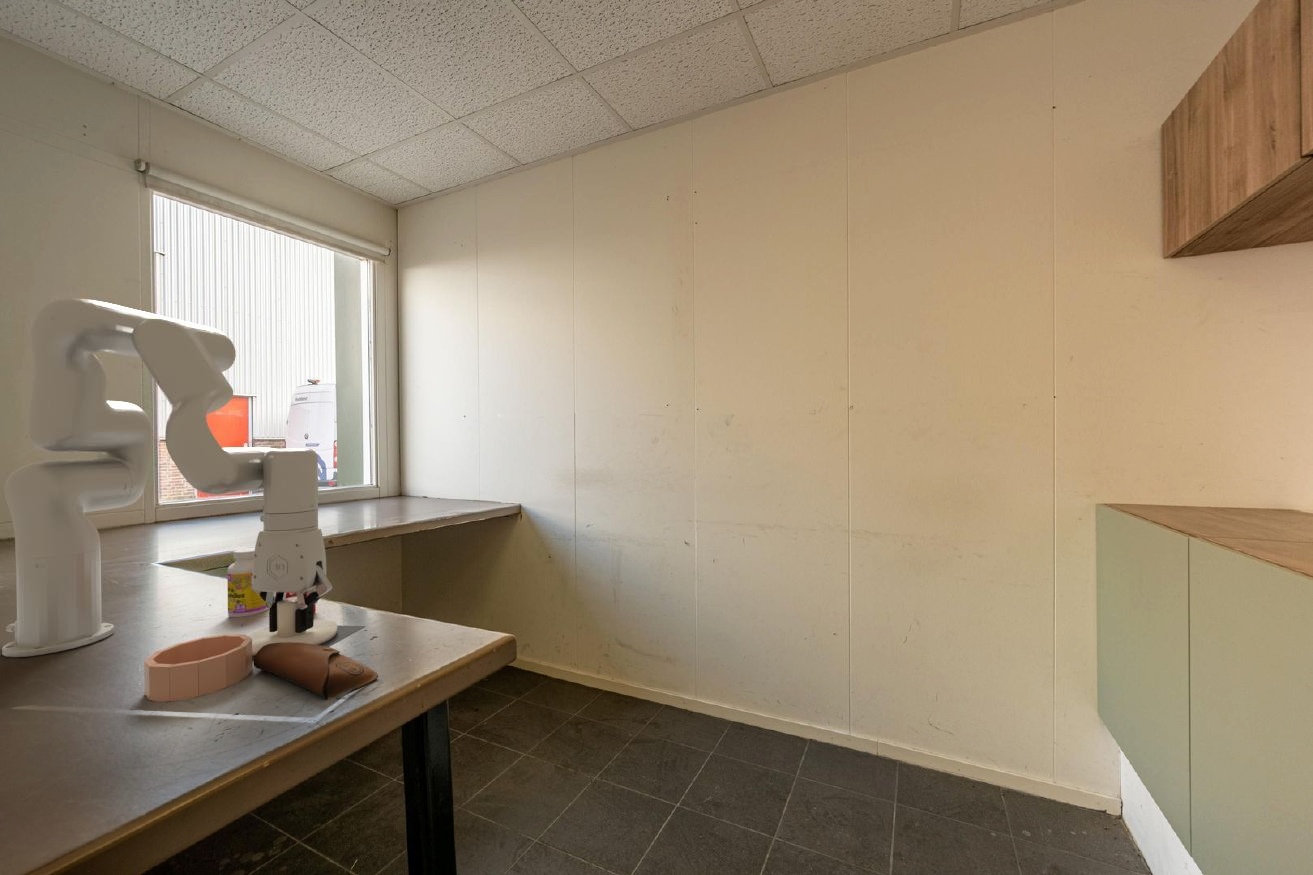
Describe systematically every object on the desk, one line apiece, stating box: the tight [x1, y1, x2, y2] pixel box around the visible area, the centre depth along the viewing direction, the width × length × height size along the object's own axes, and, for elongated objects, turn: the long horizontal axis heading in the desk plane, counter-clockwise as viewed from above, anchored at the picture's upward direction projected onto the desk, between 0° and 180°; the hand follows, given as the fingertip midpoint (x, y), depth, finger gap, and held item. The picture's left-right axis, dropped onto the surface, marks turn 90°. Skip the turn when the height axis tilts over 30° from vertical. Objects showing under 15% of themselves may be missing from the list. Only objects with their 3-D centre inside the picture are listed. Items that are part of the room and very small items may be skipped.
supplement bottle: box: [226, 546, 270, 619], centre depth 102 cm, size 7×7×13 cm
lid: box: [248, 597, 338, 655], centre depth 86 cm, size 13×13×6 cm
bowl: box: [143, 633, 253, 702], centre depth 72 cm, size 11×11×5 cm
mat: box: [252, 624, 366, 663], centre depth 86 cm, size 15×15×1 cm
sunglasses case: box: [252, 642, 379, 700], centre depth 74 cm, size 18×7×7 cm
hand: (291, 628), depth 86 cm, fingers closed on lid, 4 cm apart
